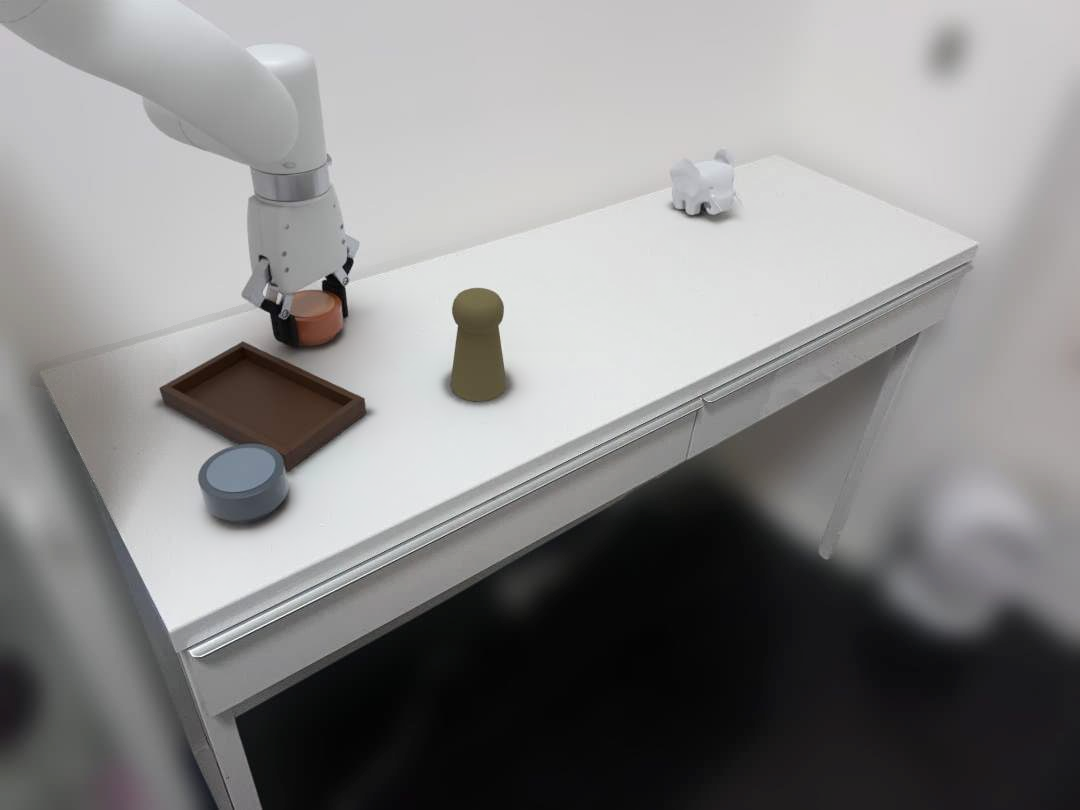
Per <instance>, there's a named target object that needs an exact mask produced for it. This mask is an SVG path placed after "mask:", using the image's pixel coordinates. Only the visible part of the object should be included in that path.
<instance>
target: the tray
mask: <svg viewBox="0 0 1080 810" xmlns="http://www.w3.org/2000/svg"><path fill="white" fill-rule="evenodd" d="M158 389H159V393H160V395H161V398H162V402H163V404H164V405H166V406H167V407H169V408H171V409H173V410H175V411H176V412H178V413H179V414H182V415H184V416H185V417H188V418H190V419H191V420H193V421H195V422H197V423H199V424H200V425H202V426H204V427H206V428H208V429H210V430H212V431H213V432H215V433H216V434H219V435H221V436H222V437H224V438H226V439H228V440H230V441H231V442H233V443H234V444H237V445H241V444H261V445H265V446H268V447H271V448H273V449H274V450H276V451H277V452H278V453H279V454H280V455H281V456H282V458H283V461H284V465H285V470H286V472H289V471H290V470H292V469H293V468H294V467H296V466H297V465H298V464H300V463H301V462H303V461H304V460H305V459H307V458H308V457H310V456H311V455H312V454H313V453H315V452H316V451H318V450H319V449H320V448H322V447H323V446H325V445H326V444H327V443H329V442H330V441H331V440H332V439H334V438H336V437H337V436H338V435H339V434H341V433H342V432H344V431H345V430H346V429H347V428H349V427H350V426H352V425H354V423H356V422H357V421H358V420H360V419H362V418H363V417H364V416H366V415H367V410H366V409H367V408H366V400H365V398H364V397H362V396H360V395H359V394H356V393H354V392H352V391H349V390H348V389H346V388H343V387H341V386H339V385H337V384H335V383H333V382H331V381H330V380H329V381H328V380H326V379H324V378H322V377H320V376H318V375H315V374H314V373H311V372H310V371H307V370H305V369H303V368H300V367H299V366H297V365H294V364H293V363H290V362H288V361H286V360H284V359H282V358H280V357H277V356H275V355H273V354H272V353H268V352H267V351H265V350H262V349H261V348H259V347H256V346H254V345H252V344H250V343H248V342H245V341H241V342H239V343H237V344H235V345H234V346H231V347H230V348H228V349H226V350H225V351H223V352H221V353H219V354H218V355H216V356H214V357H212V358H210V359H208V360H207V361H205V362H203V363H201V364H200V365H198V366H196V367H195V368H193V369H190V370H189V371H187V372H185V373H183V374H181V375H180V376H178V377H176V378H175V379H173V380H171V381H169V382H167V383H166V384H163V385H162V386H160V387H159V388H158Z"/></svg>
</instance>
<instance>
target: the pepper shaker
mask: <svg viewBox="0 0 1080 810" xmlns="http://www.w3.org/2000/svg"><path fill="white" fill-rule="evenodd" d="M504 312H505V305H504V302H503V300H502V298H501V296H500V294H498V293H497V292H496V291H493V290H491V289H490V288H485V287H471V288H467V289H464V290H461V292H459V293H457V295H456V296H455V298H454V299H453V302H452V307H451V315H452V318H453V320H454V322H455V324H456V325H457V330H456V339H455V346H454V352H453V361H452V368H451V376H450V384H449V386H450V390H451V392H452V393H453V394H454V395H455V396H456V397H458V398H459V399H460V398H461V399H462V400H464V401H465V400H466V401H470V402H480V403H481V402H487V401H488V402H489V401H492V400H493V399H497V398H498V397H500V396H501V395H503V394H504V392H505V391H506V389H507V377H506V370H505V363H504V355H503V348H502V341H501V333H500V324H502V322H503V319H504V314H505V313H504Z"/></svg>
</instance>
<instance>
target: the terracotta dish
mask: <svg viewBox="0 0 1080 810" xmlns="http://www.w3.org/2000/svg"><path fill="white" fill-rule="evenodd" d="M280 301H281V299H280V300H279V302H278V303H277V304H279V305H280ZM290 314H292V315H294V317H295V320H296V326H297V333H298V339H299V345H301V346H309V347H310V346H311V347H312V346H319V345H323V344H326V343H328V342H331V341H332V340H333V339H334V338H335V337H336V336H337V334H338V333H339V332H340V331H341V329H343V326H344V322H345V321H344V319H343V312H342V303H341V300H340V298H339V297H338V296H337V295H335V294H333V293H331V292H328V291H324V290H322V289H304V290H303V289H302V290H299V291H297V292H295V293H294V297H293V301H292V305H291V310H290Z"/></svg>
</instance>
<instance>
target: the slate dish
mask: <svg viewBox="0 0 1080 810" xmlns="http://www.w3.org/2000/svg"><path fill="white" fill-rule="evenodd" d="M197 481H198V485H199V488H200V492H201V495H202V498H203V503H204V505H205V508H206V509H207V510H208V511H209V513H211V514H212V515H213V516H215V517H217V518H219V519H222V520H226V521H229V522H232V523H238V524H247V523H252V522H257V521H259V520H262V519H264V518H266V517H268V516H269V515H270V514H272V513H273V512H274V511H275V510H276V508H277V507H279V506H280V505H281V504H282V503H283V501H284V500H285V499H286V497H287V494H288V492H289V480H288V475H287V471H286V470H285V465H284V461H283V458H282V456H281V455H280V454H279V453H278V452H277V451H276V450H274V449H273V448H271V447H268V446H265V445H261V444H241V445H239V444H237V445H232V446H228V447H226V448H224V449H221V450H219V451H217V452H216V453H214V454H213V455H211V456H210V457H208V459H206V460H205V461H204V463H203V464H202V465H201V467H200V469H199V471H198V475H197Z"/></svg>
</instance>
